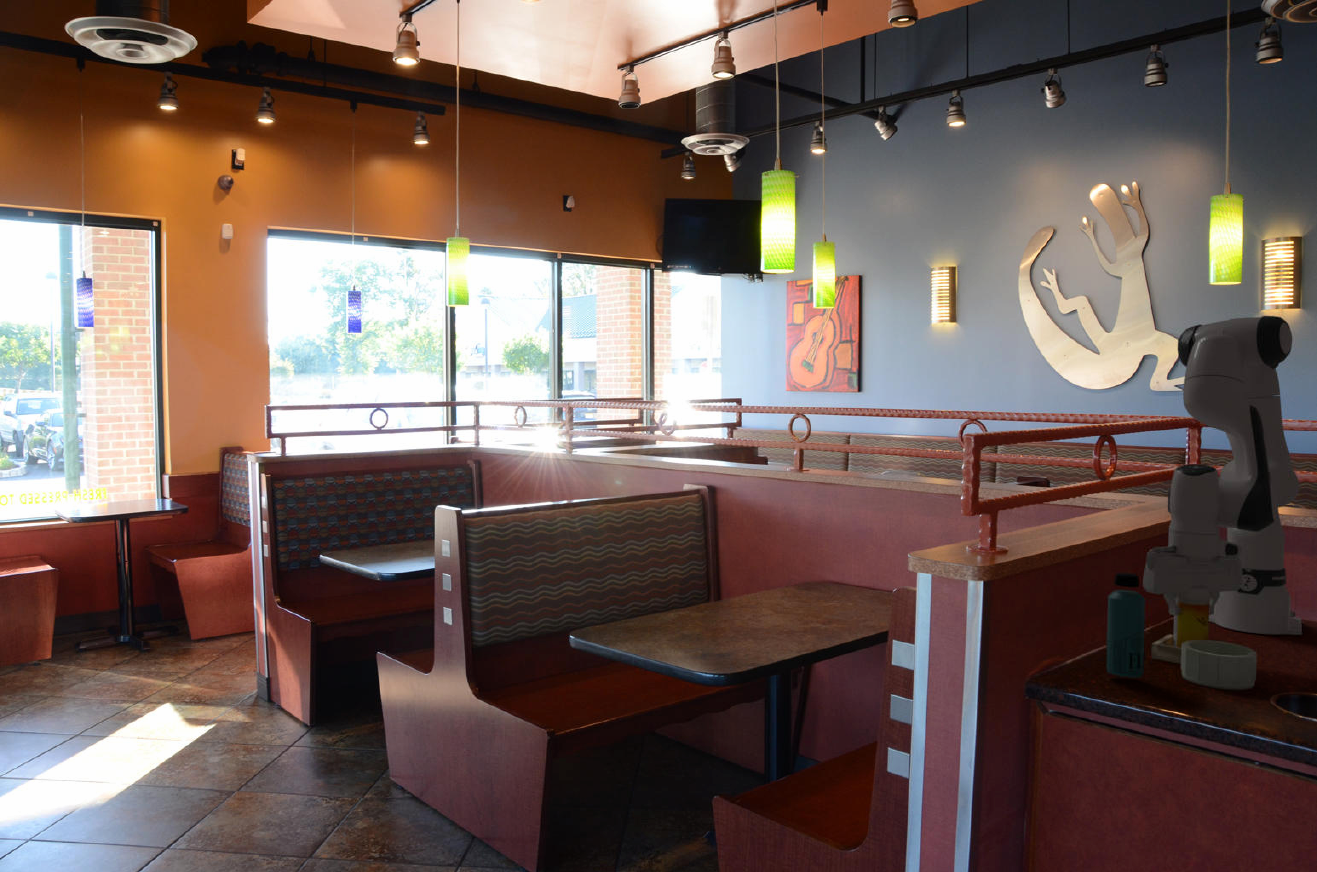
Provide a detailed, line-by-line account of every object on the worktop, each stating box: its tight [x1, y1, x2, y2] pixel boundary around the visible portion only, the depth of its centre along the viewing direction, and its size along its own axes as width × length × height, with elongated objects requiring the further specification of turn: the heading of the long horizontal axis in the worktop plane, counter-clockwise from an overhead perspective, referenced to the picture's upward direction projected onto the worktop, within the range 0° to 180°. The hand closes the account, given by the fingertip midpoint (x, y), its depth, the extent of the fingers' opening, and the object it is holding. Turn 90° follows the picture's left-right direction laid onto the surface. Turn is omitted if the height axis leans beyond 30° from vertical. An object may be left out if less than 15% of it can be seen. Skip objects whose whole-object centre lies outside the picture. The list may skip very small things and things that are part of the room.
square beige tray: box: [1150, 633, 1182, 665], centre depth 187 cm, size 11×11×4 cm
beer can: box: [1173, 587, 1210, 648], centre depth 187 cm, size 6×6×15 cm
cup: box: [1180, 639, 1258, 691], centre depth 173 cm, size 12×12×6 cm
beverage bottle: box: [1105, 572, 1146, 678], centre depth 172 cm, size 6×7×20 cm
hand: (1191, 613), depth 187 cm, fingers closed on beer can, 6 cm apart
